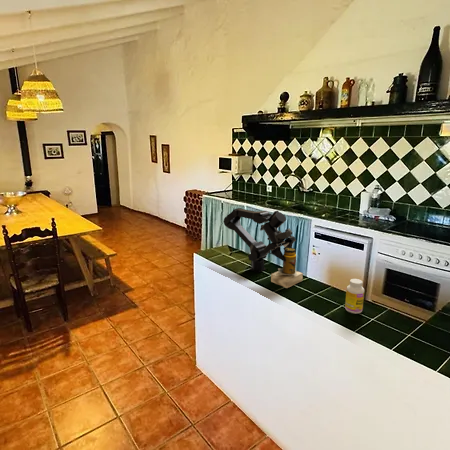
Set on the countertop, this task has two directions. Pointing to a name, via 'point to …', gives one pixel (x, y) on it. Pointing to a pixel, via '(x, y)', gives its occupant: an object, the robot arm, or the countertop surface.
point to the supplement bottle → (354, 296)
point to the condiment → (288, 262)
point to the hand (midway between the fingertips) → (289, 259)
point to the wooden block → (286, 279)
